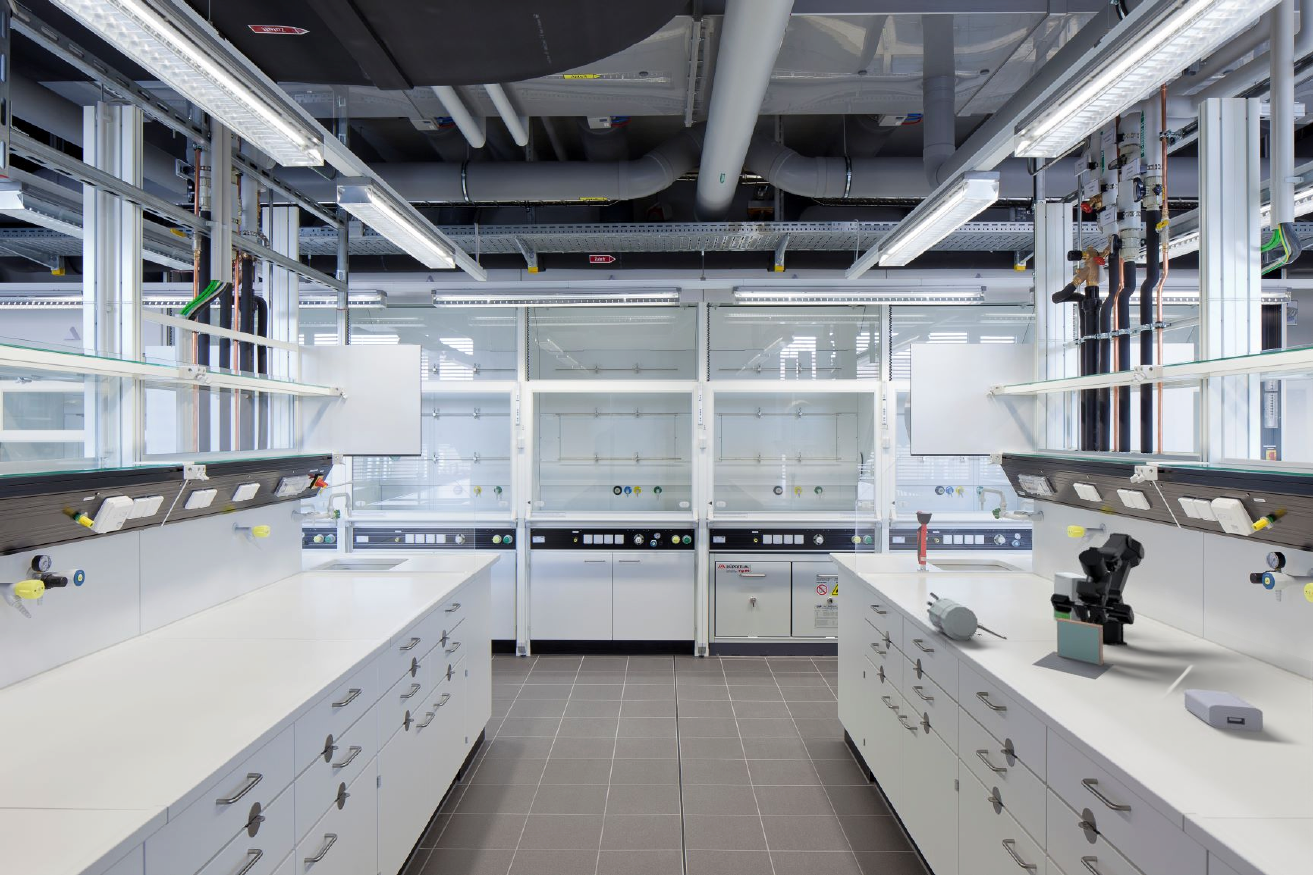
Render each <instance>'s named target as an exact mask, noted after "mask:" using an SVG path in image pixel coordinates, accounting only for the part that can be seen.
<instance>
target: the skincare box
mask: <svg viewBox="0 0 1313 875" xmlns="http://www.w3.org/2000/svg"><path fill="white" fill-rule="evenodd" d="M1053 575H1054V576H1053V577H1054V581H1053V594H1055V593H1056V594H1063V595H1068V596H1069V598H1070V601H1075V600H1080V599H1078V597H1077V596H1078V593H1076V586H1077V581H1086V577H1087V576H1085V575H1081V574H1078V573H1074V572H1069V571H1068V572H1066V571H1065V572H1054V574H1053ZM1087 614H1088V616H1090V614H1089V611H1088V612H1087ZM1052 617H1053V619H1054V620H1056V621H1057V619H1058V618H1063V619H1069V620H1074V621H1080V622H1081V619H1080V618H1078V617H1077V616H1076V614H1075V611H1074V609H1073V608H1072V611H1071V612H1070V613H1068V614H1067V613H1061V612H1057V611H1055V610H1054V609H1053V616H1052Z"/></svg>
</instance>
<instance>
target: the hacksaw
mask: <svg viewBox="0 0 1313 875" xmlns="http://www.w3.org/2000/svg"><path fill="white" fill-rule="evenodd" d="M977 625H978V628H979V629H981V630H983V631H985V632H987V633H989V634H991V635H993V636H996V637H998V638H1000V639H1002V640H1003V639H1004V640H1007V636H1003V635H999V634H998V633H996V632H994V631H991V630H990V629H988V628H986V627H984V625H983V624H982V623H980V622H979V623H977ZM980 635H981V636H982V633H980V634H977V636H980Z"/></svg>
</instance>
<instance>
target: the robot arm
mask: <svg viewBox="0 0 1313 875" xmlns="http://www.w3.org/2000/svg"><path fill="white" fill-rule="evenodd" d="M1144 558H1145V548H1144V546H1143V544H1142V542H1140V541H1138V540H1137V539H1134V538H1133V537H1132V535H1131V534H1128V533H1120V532H1112V533H1110V534H1109V538H1108V539H1107V540H1106V541H1105V542H1104V544H1103V545H1102V546H1101V547H1096V546H1095V547H1094V546H1089V548H1088V549H1085V550H1083V551H1081V553H1079V555H1078V560H1079V563H1080V566H1081V569H1082V571H1083V573H1084V575H1086V576H1085V577H1086V581H1077V586H1076V593H1078V596H1077V597H1078V599H1080V600H1075V601H1070V598H1069V596H1068V595H1063V594H1056V593H1055V594H1054V593H1053V594H1052V595H1051V597H1050V602H1051V605H1052V607H1053V611H1054V610H1055V611H1057V612H1061V613H1067V614H1068V613H1070V612H1071V611H1072V608H1073V609H1074V611H1075V614H1076V616H1077V617H1078V618H1080V619H1081V622H1085V623H1091V624H1096V625H1102V626H1103V645H1128V642H1126V641H1124V640H1125V639H1124V635H1125V634H1124V625H1129V626H1130V625H1134V623H1135V622H1134V621H1135V614H1134V611H1133V608H1132V606H1131V605H1130V604H1128V603H1127V604H1126V603H1124V598H1123V592H1124V589H1125V587H1126V586H1125V585H1127V584H1126V583H1127V581H1128V579H1129V578H1128V577H1129V576H1130V572H1131V569H1134V568H1136V567H1138V566H1140V564H1141V562H1142V560H1144ZM1088 611H1089V616H1088V614H1087V612H1088Z"/></svg>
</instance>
